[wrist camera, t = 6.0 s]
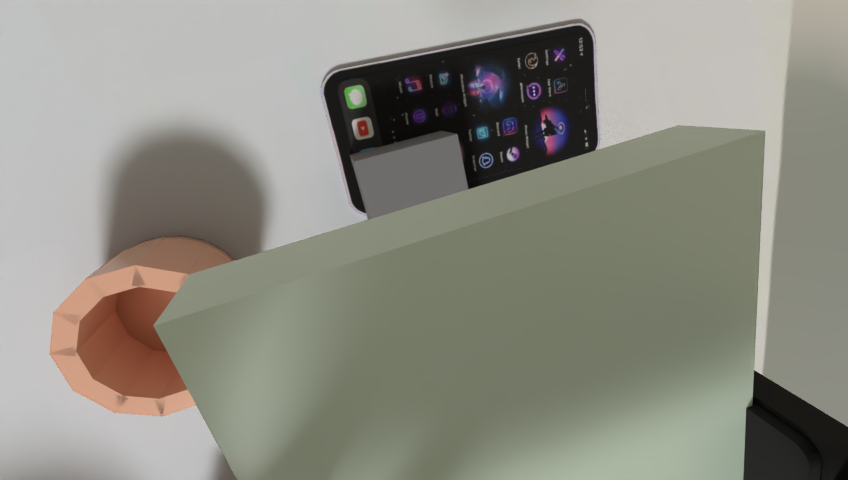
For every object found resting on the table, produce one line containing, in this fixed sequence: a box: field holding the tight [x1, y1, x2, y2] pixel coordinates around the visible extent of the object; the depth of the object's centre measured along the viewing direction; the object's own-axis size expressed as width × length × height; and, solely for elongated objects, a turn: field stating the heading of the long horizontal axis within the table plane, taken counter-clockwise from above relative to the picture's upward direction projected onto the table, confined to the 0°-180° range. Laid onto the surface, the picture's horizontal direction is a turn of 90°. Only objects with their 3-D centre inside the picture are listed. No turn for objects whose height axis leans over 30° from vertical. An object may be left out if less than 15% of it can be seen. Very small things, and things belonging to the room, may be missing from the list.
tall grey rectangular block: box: [350, 131, 468, 220], centre depth 23 cm, size 10×5×3 cm, turn 13°
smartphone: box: [321, 23, 600, 215], centre depth 23 cm, size 8×1×15 cm
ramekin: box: [49, 236, 235, 416], centre depth 20 cm, size 7×7×4 cm
